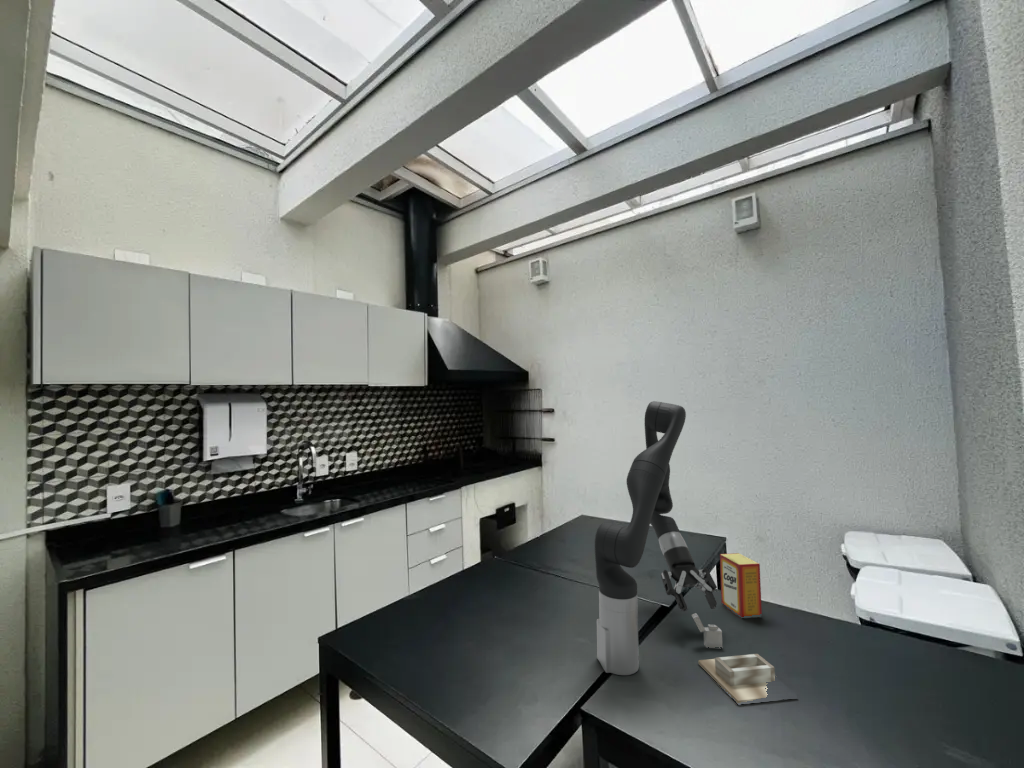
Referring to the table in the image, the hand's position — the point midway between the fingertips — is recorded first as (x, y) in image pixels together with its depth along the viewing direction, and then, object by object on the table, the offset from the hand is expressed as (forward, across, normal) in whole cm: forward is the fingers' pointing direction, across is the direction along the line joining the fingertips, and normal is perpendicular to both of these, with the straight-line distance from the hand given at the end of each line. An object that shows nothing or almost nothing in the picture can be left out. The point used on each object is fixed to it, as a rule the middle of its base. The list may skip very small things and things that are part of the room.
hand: (699, 608), depth 110 cm
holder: (+18, 0, -6) cm, 19 cm away
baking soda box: (-3, +22, +15) cm, 27 cm away
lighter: (+8, 0, +4) cm, 9 cm away
